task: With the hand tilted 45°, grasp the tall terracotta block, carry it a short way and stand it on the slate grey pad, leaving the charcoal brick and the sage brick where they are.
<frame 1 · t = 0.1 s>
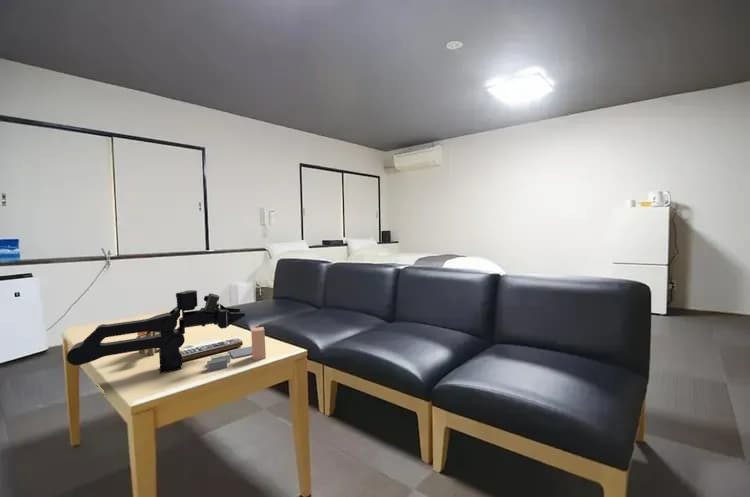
hand: (242, 312, 138), 17 cm above the table, tool horizontal, fingers open, 9 cm apart
slate pad: (245, 352, 141), on the table
terracotta block: (259, 357, 135), on the table
toy house: (150, 355, 140), on the table
charcoal brick: (217, 368, 125), on the table
sage brick: (221, 363, 130), on the table
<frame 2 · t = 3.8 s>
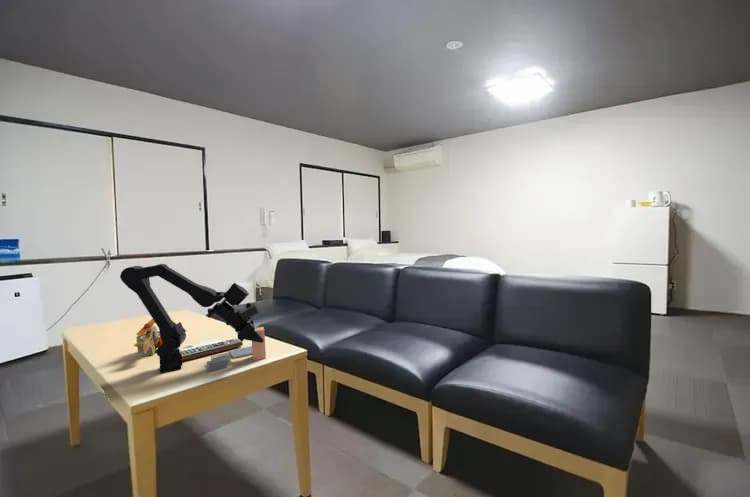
hand: (262, 339, 135), 7 cm above the table, tool tilted 45°, fingers closed on terracotta block, 4 cm apart
terracotta block: (259, 357, 135), on the table, touching gripper
everything else where it was.
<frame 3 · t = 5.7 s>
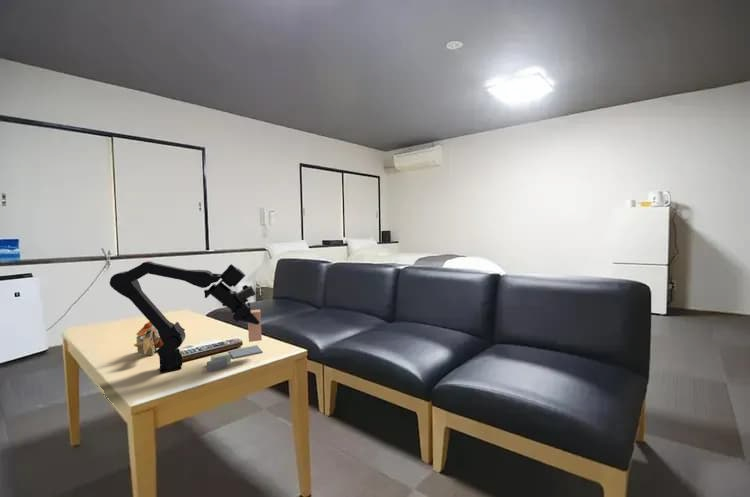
hand: (258, 322, 135), 13 cm above the table, tool tilted 45°, fingers closed on terracotta block, 4 cm apart
terracotta block: (255, 339, 135), point 7 cm above the table, touching gripper
everything else where it was.
when the fingers open (9 cm above the table, at t = 7.7 s): terracotta block drops 1 cm, resting on slate pad.
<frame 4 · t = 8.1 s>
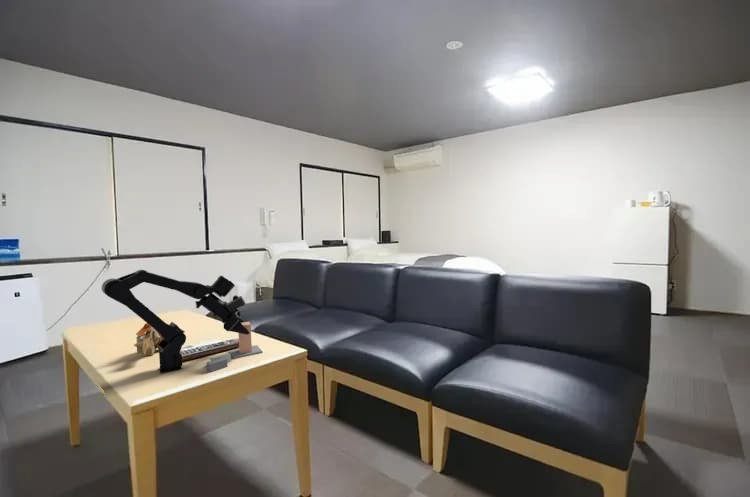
hand: (248, 330, 141), 9 cm above the table, tool tilted 45°, fingers open, 8 cm apart
terracotta block: (245, 350, 141), point 1 cm above the table, touching slate pad
everything else where it was.
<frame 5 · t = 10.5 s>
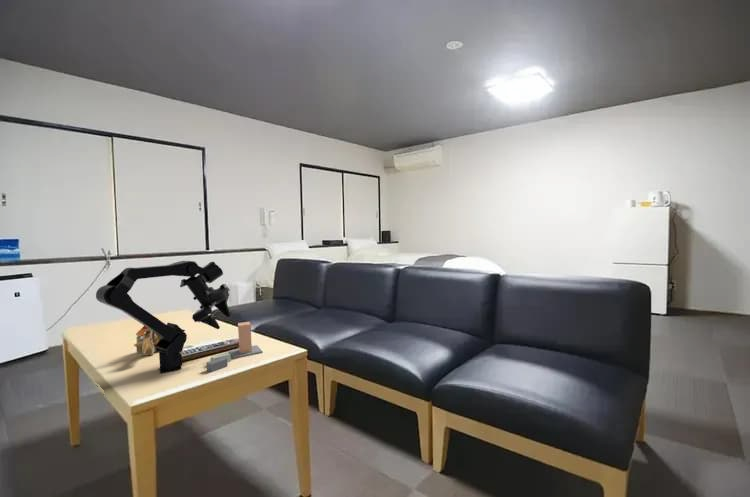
hand: (224, 322, 138), 13 cm above the table, tool tilted 30°, fingers open, 9 cm apart
nothing on the table moved.
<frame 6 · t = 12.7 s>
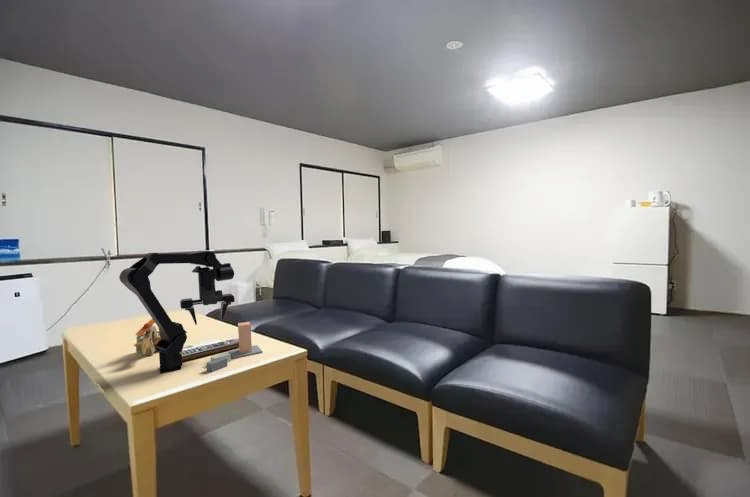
hand: (209, 322, 138), 13 cm above the table, tool pointing down, fingers open, 9 cm apart
nothing on the table moved.
at the end: terracotta block 0.0 cm off-centre on the slate pad, point 0.6 cm above the slate pad's base; terracotta block tilted 0°; sage brick moved 0.2 cm from its start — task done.
